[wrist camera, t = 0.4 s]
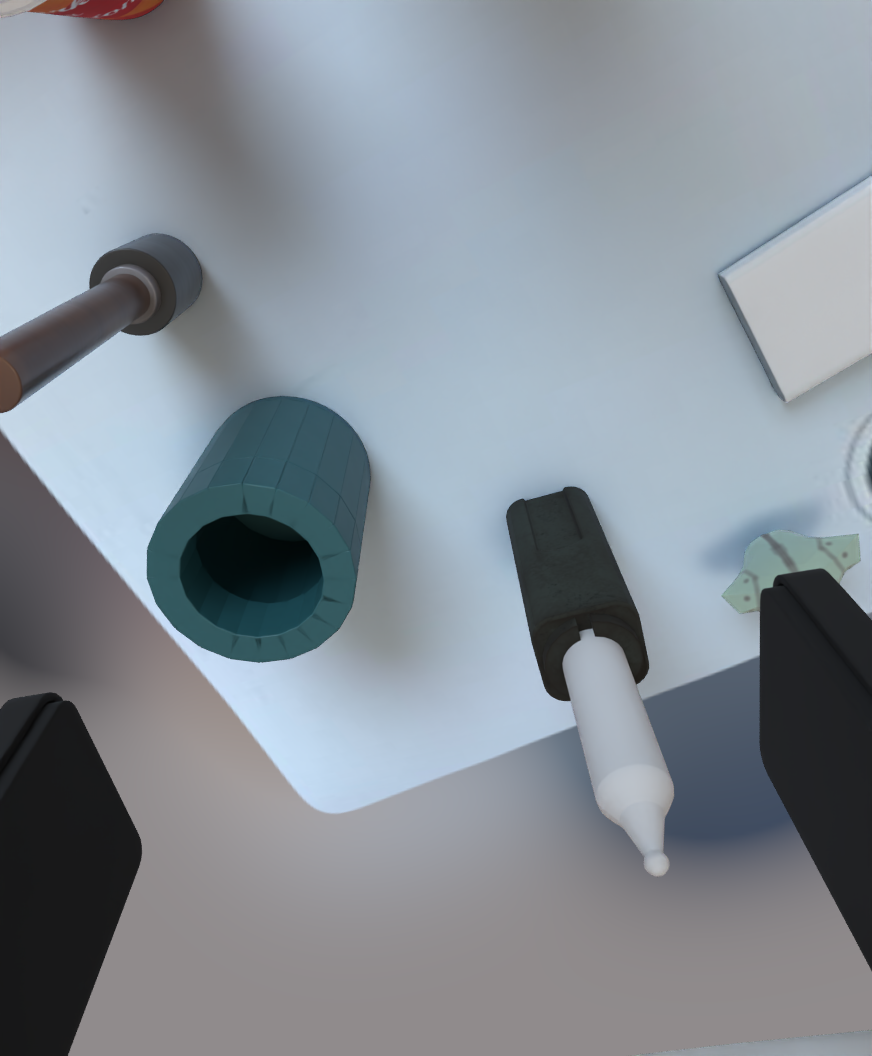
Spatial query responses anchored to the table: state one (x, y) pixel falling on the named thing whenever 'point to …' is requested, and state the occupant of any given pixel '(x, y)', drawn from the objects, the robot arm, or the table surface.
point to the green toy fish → (788, 563)
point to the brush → (101, 313)
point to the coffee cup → (81, 8)
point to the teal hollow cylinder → (265, 533)
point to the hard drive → (809, 294)
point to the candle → (593, 658)
